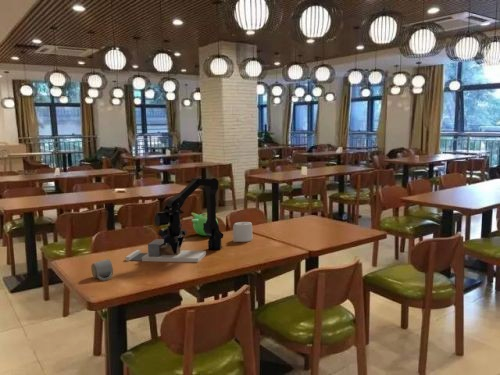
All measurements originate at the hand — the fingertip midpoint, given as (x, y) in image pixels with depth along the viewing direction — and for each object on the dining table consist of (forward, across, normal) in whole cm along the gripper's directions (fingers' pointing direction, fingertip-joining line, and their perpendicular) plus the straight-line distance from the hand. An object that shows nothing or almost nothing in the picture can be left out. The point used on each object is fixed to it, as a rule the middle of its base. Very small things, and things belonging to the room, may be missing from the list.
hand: (176, 252), depth 230 cm
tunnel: (+1, 0, -10) cm, 10 cm away
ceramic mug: (+3, +33, -23) cm, 41 cm away
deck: (+3, 0, -6) cm, 6 cm away
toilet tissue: (+3, -39, +28) cm, 48 cm away
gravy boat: (+3, -51, +1) cm, 51 cm away
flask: (+3, -19, -10) cm, 22 cm away
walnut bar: (+1, 0, -6) cm, 6 cm away
